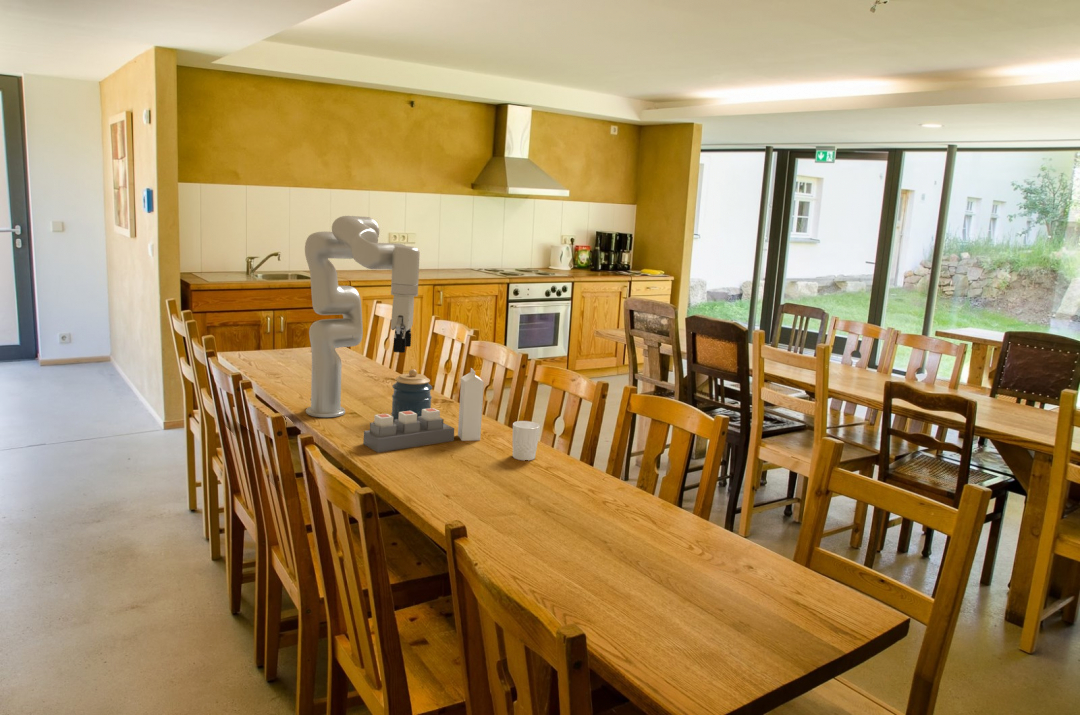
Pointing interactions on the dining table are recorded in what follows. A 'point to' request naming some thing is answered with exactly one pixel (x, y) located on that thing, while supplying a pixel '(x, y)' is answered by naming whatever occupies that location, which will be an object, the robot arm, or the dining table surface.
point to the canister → (411, 394)
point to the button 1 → (383, 420)
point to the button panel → (407, 435)
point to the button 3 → (430, 414)
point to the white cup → (525, 440)
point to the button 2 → (407, 417)
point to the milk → (470, 407)
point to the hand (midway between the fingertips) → (402, 349)
